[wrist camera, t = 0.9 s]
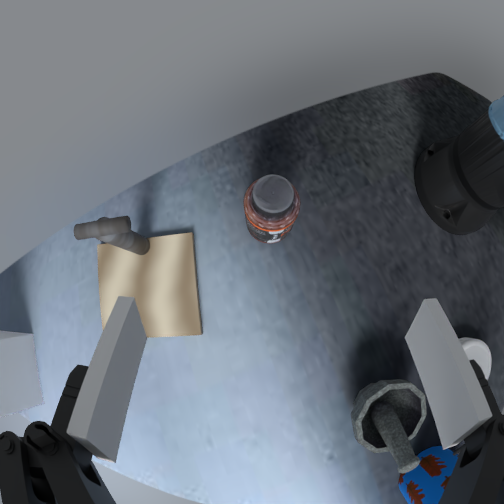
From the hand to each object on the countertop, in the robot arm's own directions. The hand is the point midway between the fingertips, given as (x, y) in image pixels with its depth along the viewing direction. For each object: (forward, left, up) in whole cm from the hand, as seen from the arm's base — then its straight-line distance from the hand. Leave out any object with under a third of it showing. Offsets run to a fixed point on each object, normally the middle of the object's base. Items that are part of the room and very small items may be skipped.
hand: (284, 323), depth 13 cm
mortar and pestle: (-13, +16, -26) cm, 33 cm away
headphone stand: (+16, -4, -25) cm, 30 cm away
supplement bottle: (-1, -11, -26) cm, 28 cm away
